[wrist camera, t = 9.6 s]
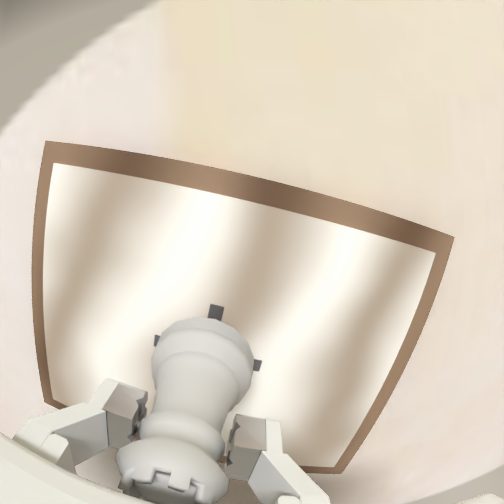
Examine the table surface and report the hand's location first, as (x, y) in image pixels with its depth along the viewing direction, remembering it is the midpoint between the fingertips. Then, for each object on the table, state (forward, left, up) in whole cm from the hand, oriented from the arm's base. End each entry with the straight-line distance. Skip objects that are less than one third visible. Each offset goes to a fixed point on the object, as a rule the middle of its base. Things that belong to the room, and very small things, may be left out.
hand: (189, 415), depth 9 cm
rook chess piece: (0, 0, -4) cm, 4 cm away
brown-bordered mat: (0, 0, -6) cm, 6 cm away
